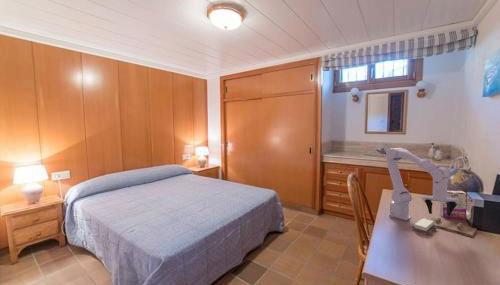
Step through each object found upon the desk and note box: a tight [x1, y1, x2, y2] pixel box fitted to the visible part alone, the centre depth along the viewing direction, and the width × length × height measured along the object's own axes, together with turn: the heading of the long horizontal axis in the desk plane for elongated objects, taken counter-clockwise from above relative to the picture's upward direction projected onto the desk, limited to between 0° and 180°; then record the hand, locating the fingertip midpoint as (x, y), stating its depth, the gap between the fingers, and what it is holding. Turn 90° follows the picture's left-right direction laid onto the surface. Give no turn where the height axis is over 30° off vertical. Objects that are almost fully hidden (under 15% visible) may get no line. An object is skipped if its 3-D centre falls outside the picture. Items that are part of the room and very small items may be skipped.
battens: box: [411, 224, 437, 236], centre depth 114 cm, size 8×10×2 cm
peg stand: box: [426, 216, 478, 238], centre depth 116 cm, size 20×11×3 cm, turn 34°
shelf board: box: [414, 218, 434, 231], centre depth 114 cm, size 12×5×2 cm, turn 124°
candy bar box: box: [439, 189, 468, 220], centre depth 127 cm, size 11×5×16 cm, turn 68°
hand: (439, 214), depth 111 cm, fingers open, 7 cm apart
